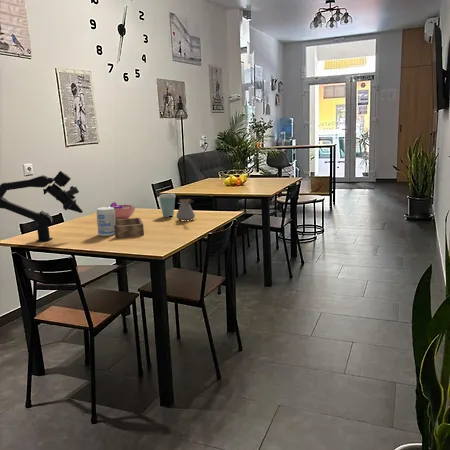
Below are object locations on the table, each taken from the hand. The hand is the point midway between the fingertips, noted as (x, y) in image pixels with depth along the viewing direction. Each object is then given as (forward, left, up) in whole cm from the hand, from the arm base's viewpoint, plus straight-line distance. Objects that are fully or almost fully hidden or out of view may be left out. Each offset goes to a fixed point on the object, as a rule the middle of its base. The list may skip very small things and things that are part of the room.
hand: (82, 212), depth 242 cm
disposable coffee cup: (+52, -37, -14) cm, 65 cm away
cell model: (+46, -7, -14) cm, 48 cm away
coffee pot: (+34, -52, -14) cm, 64 cm away
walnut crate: (+7, -22, -13) cm, 27 cm away
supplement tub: (+4, -11, -14) cm, 18 cm away
